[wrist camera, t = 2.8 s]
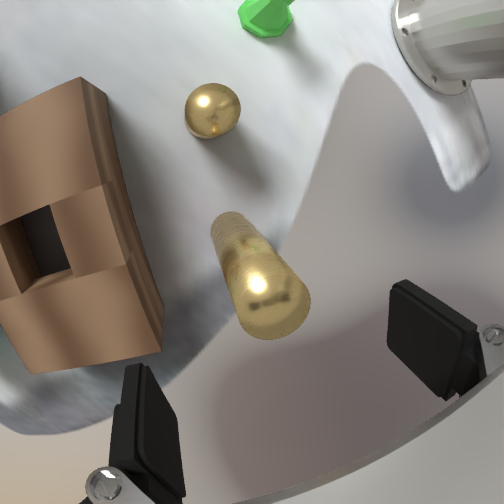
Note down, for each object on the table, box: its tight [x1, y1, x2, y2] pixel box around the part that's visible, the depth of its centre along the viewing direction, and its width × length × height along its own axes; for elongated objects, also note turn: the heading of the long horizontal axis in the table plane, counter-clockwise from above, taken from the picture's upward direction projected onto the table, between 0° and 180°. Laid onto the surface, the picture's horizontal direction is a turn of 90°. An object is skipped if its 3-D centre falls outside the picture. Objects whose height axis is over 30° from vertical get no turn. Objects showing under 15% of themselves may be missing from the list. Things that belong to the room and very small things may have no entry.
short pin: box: [185, 83, 241, 139], centre depth 18 cm, size 3×3×5 cm
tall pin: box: [211, 212, 311, 340], centre depth 18 cm, size 3×3×12 cm
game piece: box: [238, 0, 294, 38], centre depth 15 cm, size 4×4×6 cm
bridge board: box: [0, 77, 164, 374], centre depth 17 cm, size 12×18×6 cm, turn 11°
